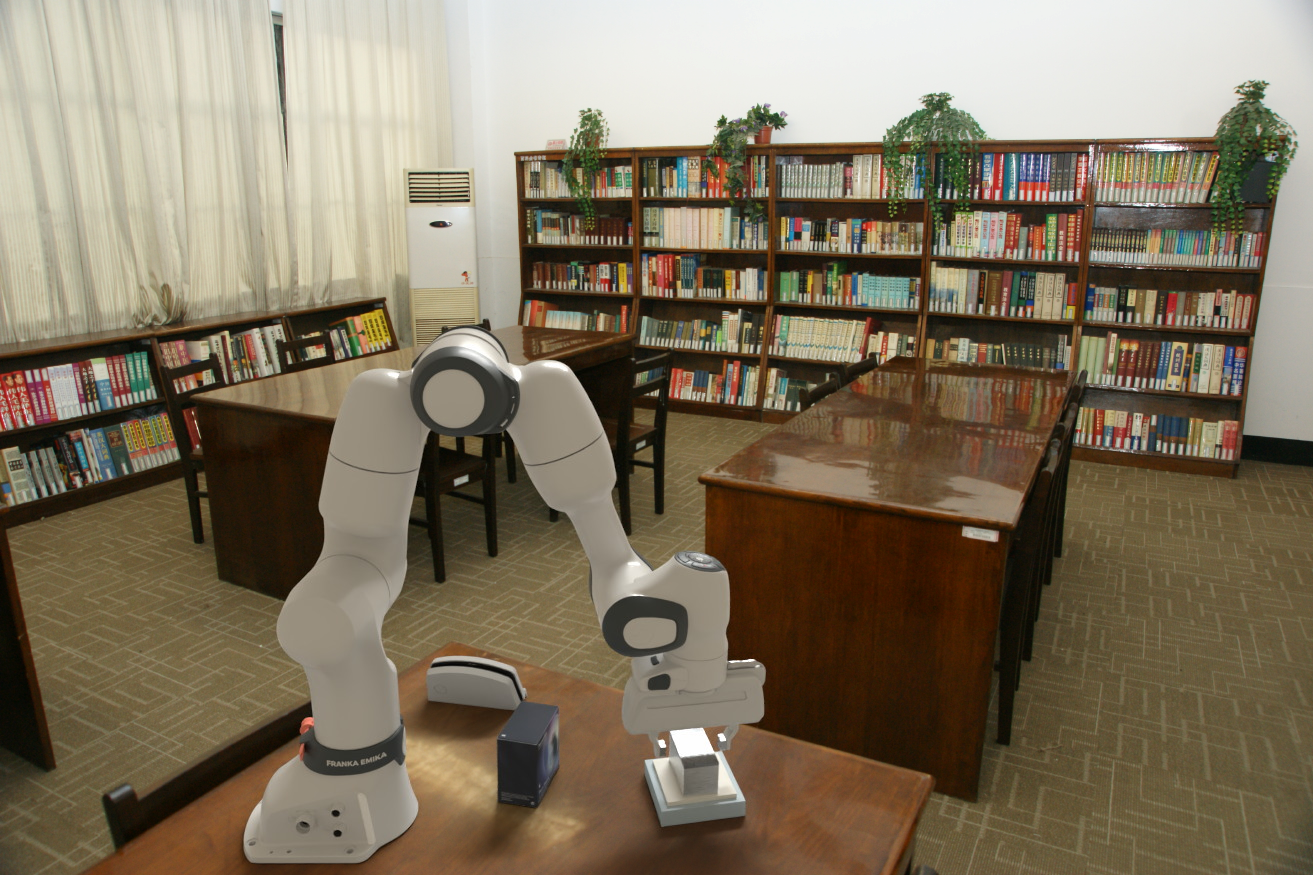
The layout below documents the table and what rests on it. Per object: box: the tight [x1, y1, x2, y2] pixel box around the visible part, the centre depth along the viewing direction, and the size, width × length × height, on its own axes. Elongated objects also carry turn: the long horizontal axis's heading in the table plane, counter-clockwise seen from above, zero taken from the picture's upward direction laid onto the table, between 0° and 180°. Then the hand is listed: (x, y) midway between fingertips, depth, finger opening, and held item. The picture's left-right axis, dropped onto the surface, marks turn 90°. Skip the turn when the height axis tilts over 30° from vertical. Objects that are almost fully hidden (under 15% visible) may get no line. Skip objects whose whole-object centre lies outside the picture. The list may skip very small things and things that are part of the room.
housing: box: [668, 728, 719, 798], centre depth 130 cm, size 9×5×5 cm, turn 12°
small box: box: [496, 700, 560, 809], centre depth 132 cm, size 11×6×10 cm, turn 168°
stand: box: [643, 750, 747, 828], centre depth 131 cm, size 12×12×3 cm
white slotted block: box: [425, 655, 528, 711], centre depth 153 cm, size 17×5×10 cm, turn 80°
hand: (691, 751), depth 130 cm, fingers open, 8 cm apart
